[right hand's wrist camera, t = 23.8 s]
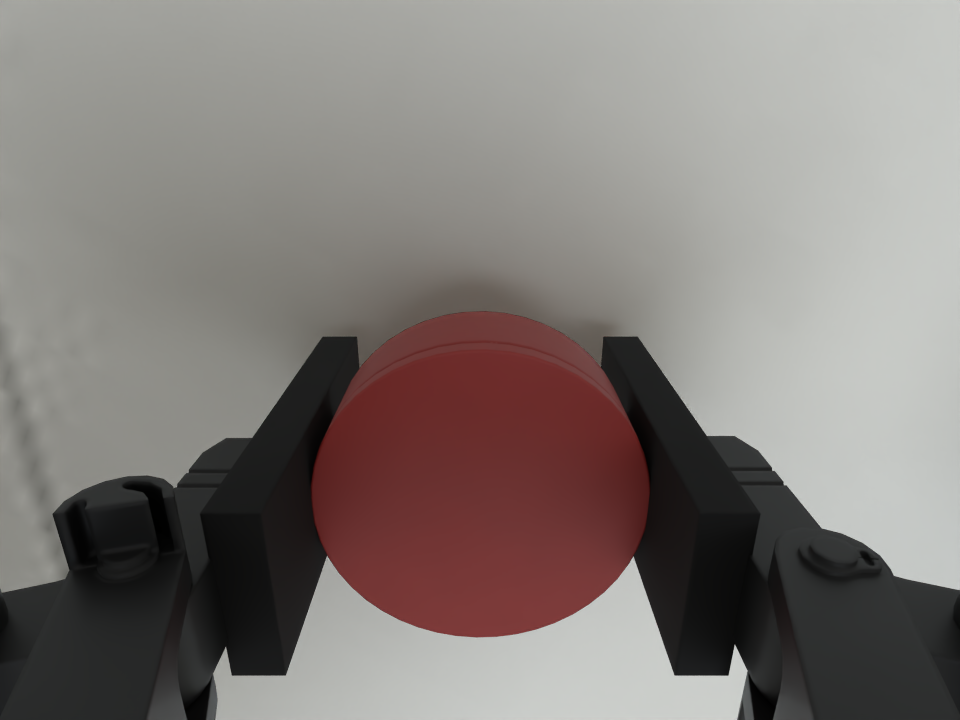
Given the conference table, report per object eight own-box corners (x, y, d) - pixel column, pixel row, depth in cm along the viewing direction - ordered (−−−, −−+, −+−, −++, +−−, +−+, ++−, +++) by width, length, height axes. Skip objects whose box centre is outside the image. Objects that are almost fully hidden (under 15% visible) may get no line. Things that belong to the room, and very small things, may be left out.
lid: (278, 395, 12) (240, 449, 10) (546, 254, 11) (559, 284, 9) (428, 600, 13) (420, 678, 11) (669, 496, 12) (702, 563, 10)
